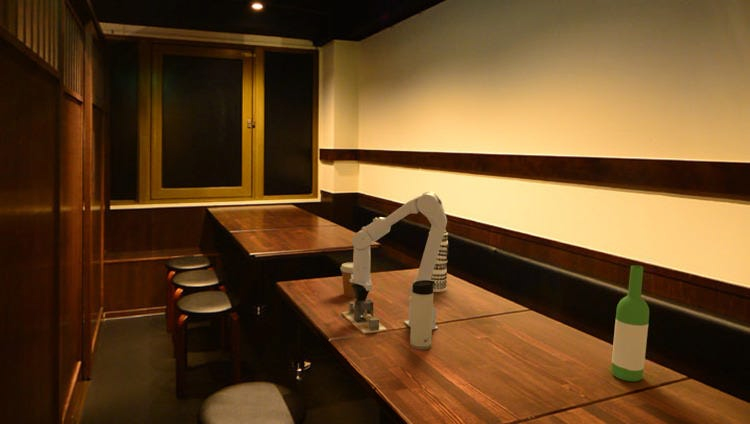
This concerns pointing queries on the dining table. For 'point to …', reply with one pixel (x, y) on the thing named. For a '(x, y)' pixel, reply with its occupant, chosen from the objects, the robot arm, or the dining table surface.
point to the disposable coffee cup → (347, 279)
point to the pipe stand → (364, 326)
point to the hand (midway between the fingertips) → (360, 305)
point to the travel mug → (421, 314)
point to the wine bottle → (631, 331)
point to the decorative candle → (441, 266)
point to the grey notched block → (362, 309)
